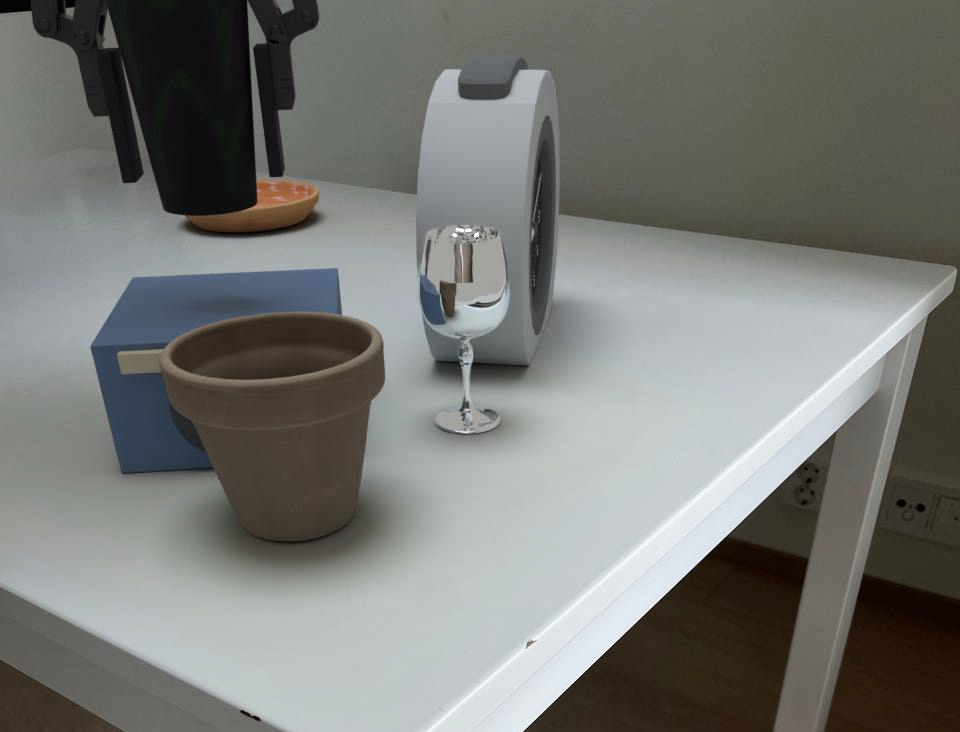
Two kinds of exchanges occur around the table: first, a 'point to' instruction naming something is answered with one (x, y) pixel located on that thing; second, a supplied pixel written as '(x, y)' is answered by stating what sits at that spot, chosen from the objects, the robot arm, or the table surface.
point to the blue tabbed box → (162, 318)
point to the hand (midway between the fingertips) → (205, 175)
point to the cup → (192, 99)
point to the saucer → (266, 209)
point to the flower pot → (281, 413)
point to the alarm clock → (496, 188)
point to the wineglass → (464, 304)
